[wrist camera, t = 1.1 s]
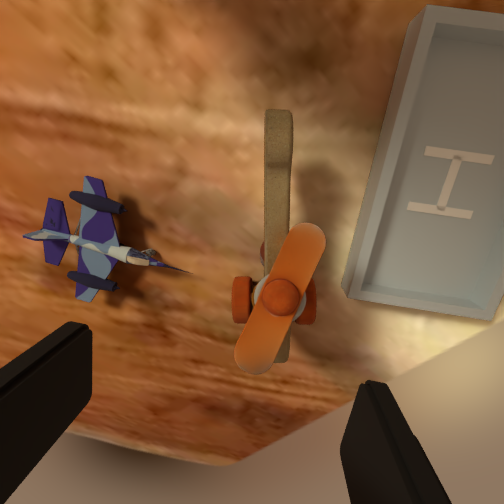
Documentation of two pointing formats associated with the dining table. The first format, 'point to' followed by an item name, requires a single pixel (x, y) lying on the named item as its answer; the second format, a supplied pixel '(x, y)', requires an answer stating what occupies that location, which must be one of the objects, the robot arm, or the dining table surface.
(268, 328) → the toy helicopter
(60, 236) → the toy airplane
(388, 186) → the tray
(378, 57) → the dining table surface
